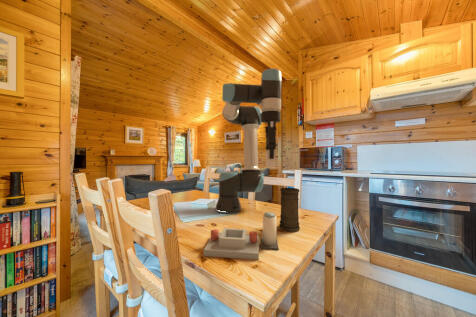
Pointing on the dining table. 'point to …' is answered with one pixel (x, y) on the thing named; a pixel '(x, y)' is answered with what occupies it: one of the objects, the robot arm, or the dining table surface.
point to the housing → (233, 245)
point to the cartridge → (269, 228)
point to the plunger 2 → (253, 237)
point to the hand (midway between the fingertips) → (270, 167)
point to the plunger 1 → (214, 234)
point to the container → (289, 210)
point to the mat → (274, 247)
